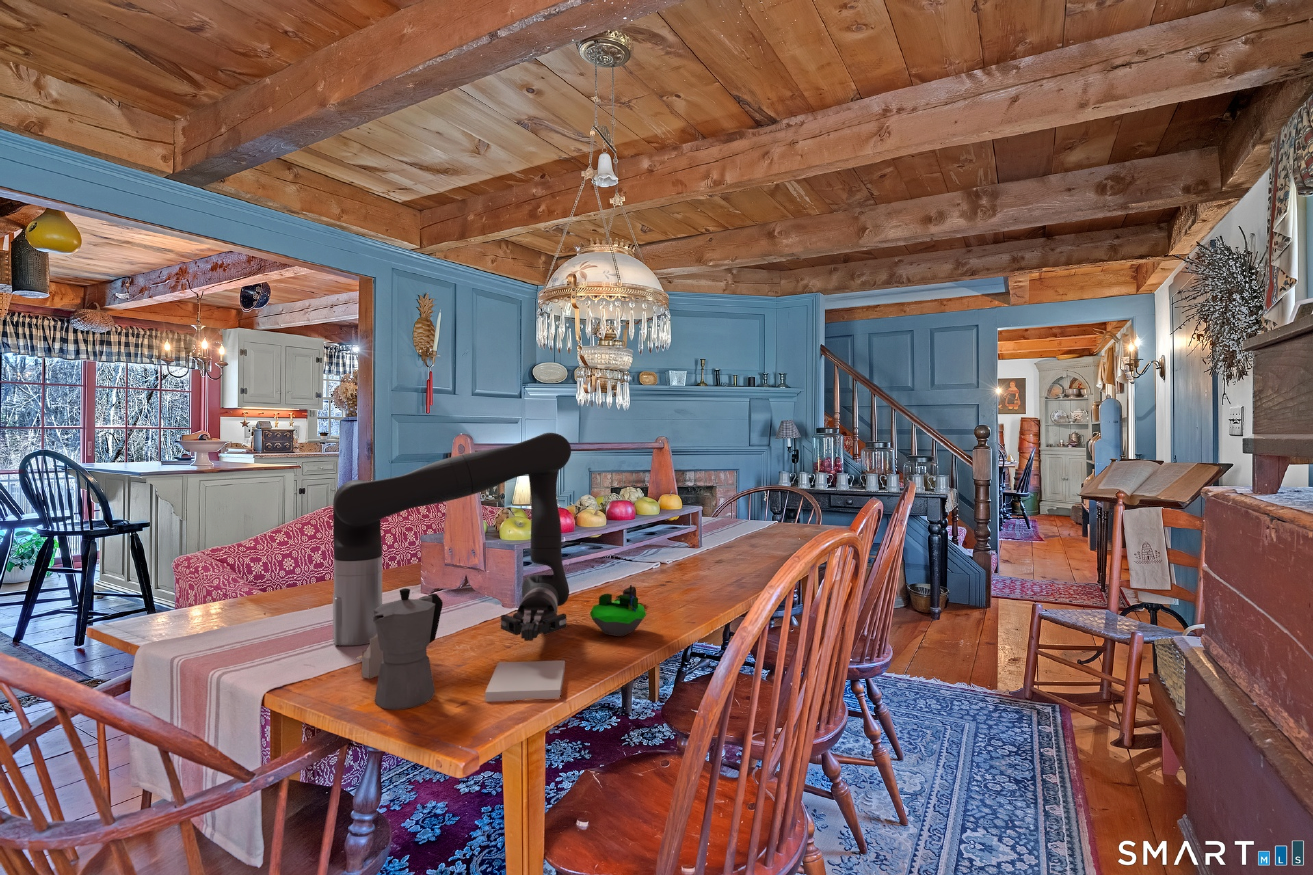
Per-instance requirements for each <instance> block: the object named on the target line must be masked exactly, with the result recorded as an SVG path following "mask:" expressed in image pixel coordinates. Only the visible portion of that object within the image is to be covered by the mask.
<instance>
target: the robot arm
mask: <svg viewBox="0 0 1313 875" xmlns="http://www.w3.org/2000/svg"><path fill="white" fill-rule="evenodd" d="M571 455H572V447H571V444H570V442H569V440H568V439H567V438H565V437H564V436H563V435H562V434H559V433H556V432H546V433H542V434H540V435H537V436H534V437H531V438H529V439H526V440H522V441H520V442H518V443H515V444H510V445H508V446H503V447H502V446H501V447H495V448H490V449H484V450H478V451H474V452H470V453H469V452H467V453H464V454H460V455H456V456H452V457H447V458H443V459H441V460H437V461H434V462H431V463H429V464H426V465H424V466H421V467H419V468H417V469H415V470H413V471H411V472H410V471H409V472H408V473H405V474H401V475H398V476H393V477H387V478H382V479H376V480H367V481H366V480H362V479H351V480H349V481H347V482H345V483H343V484H342V485H341V486H340V487H339V488H337V490H336V492H335V494H334V497H333V502H332V514H333V516H332V518H333V519H332V522H333V523H332V525H333V530H332V531H333V532H332V533H333V535H332V536H333V537H332V538H333V539H332V542H333V545H332V546H333V593H332V640H333V639H334V640H333V642H334V646H335V645H339V646H361V645H365V644H370V639H371V638H374V637H375V635H376V634H377V629H376V623H375V622H373V619H372V618H373V617H374V609H376V608H377V607H379V606H380V605H382V604H383V543H382V542H383V540H382V531H381V529H382V527H381V522H382V521H381V520H382V519H383V520H384V519H385V518H387V517H390V516H393V515H396V514H398V513H401V512H404V511H407V510H411V509H414V508H419V507H425V506H431V505H436V504H440V503H441V504H442V503H445V502H450V501H454V500H458V499H462V498H465V497H469V496H472V495H473V496H474V495H475V494H476V495H477V494H479V493H482V492H485V491H487V490H491V489H492V488H495V487H497V486H499V485H502V484H504V483H506V482H507V481H511V480H513V479H516V478H518V477H522V476H526V475H527V476H528V480H529V490H530V506H531V507H530V508H531V510H530V511H531V512H530V515H531V516H530V560H531V562H532V563H534V564H536V565H537V564H538V565H542V566H546V567H548V568H550V569H551V570H552V574H534V575H529V576H527V577H525V579H524V580H523V583H522V587H521V598H522V600H521V602H520V604H519V605H518V608H517V611H516V612H514V613H513V614H512V615H508V614H501V615H500V630H503V631H505V632H507V633H510V634H513V635H515V636H520V639H524V642H533V641H534V639H537V638H538V636H540V634H543V635H545V636H546V635H550V634H552V633H555V632H559V631H560V630H563V629H565V628H567V614H566V613H561V614H558V607H562V606H564V605H565V603H566V602H567V601H568V599H569V597H570V588H569V584H568V580H567V577H566V573H565V570H564V564H563V558H562V557H563V556H562V522H561V517H560V516H561V515H560V511H559V505H558V498H557V497H558V496H557V483H558V476H559V471H560V470H562V469H563V468H564V467H565V466H566V465H567V464H568V462H569V460H570V458H571Z"/></svg>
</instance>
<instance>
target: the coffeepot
mask: <svg viewBox="0 0 1313 875" xmlns="http://www.w3.org/2000/svg"><path fill="white" fill-rule="evenodd" d="M410 592H411V589H410V588H407V587H405V588H401V589H400V590H399V595H400V599H398V600H394V601H390V602H386V603H382V605H380V606H379V607H377V608H376V609H374V617H373V618H372V619H373V622H375V623H376V629H377V635H378V641H379V647H380V650H381V651H383V661H382V663H381V666H380V671H379V675H378V676H377V684H376V690H375V696H374V700H373V701H374V703H375V704H376V705H377V707H380V708H382V709H385V710H393V711H394V710H395V711H396V710H399V711H400V710H407V709H412V708H416V707H419V706H422V705H425V704H427V703H428V702H430V701H431V700H433V697H434V696H435V693H436V690H435V684H434V679H433V673H432V672H433V671H432V667H431V663H430V657H429V656H428V655H427V647H429V644H431V643H433V642H434V641H435V640H436V637H437V631H438V630H439V629H438V628H439V623H440V619H441V615H442V614H441V613H442V609H443V605H444V604H443V600H442V599H441V597H440V596H439V594H437V593H430V594H428V595H424V596H421V597H419V598H418V599H414V598H410V595H411V594H410Z"/></svg>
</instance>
